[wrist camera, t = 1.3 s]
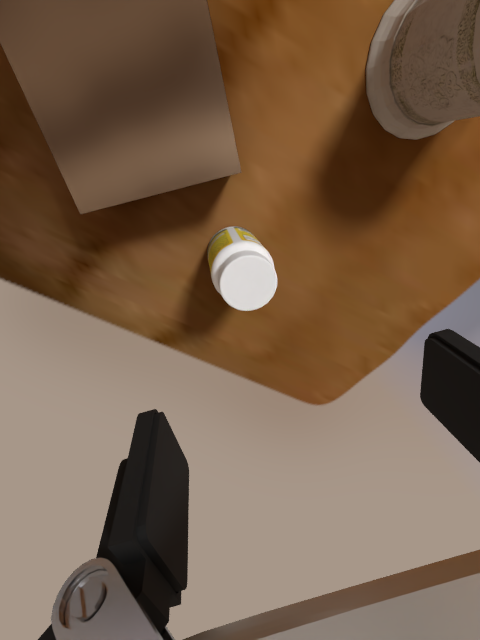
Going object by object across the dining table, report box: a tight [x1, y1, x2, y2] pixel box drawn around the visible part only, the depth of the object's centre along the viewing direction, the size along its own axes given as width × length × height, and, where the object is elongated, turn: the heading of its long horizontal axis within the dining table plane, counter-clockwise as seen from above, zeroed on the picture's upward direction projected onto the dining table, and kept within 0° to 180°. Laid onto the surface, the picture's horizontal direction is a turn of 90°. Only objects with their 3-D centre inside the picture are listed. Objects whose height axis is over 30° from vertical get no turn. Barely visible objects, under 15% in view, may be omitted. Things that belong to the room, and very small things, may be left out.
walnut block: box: [0, 0, 241, 214], centre depth 19 cm, size 11×11×5 cm
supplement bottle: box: [207, 227, 277, 311], centre depth 24 cm, size 5×5×8 cm
